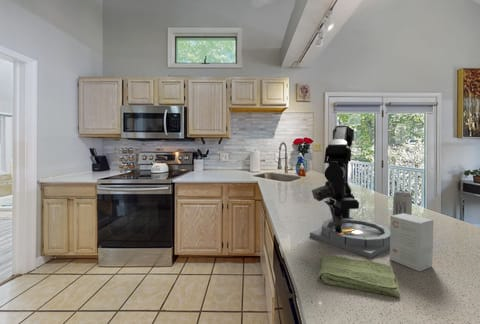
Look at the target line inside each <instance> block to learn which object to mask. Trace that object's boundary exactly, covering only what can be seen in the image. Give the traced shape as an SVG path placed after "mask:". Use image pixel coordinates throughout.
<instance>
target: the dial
mask: <svg viewBox="0 0 480 324" xmlns="http://www.w3.org/2000/svg"><path fill="white" fill-rule="evenodd" d="M330 229H332V230H333V231H335V232H339V233H344V234H345V235H350V236H358V237H378V236H380V235H382V233H381V232H380V231H379V230H377V229H375V228H373V227H370V226H366V225H361V224H354V223H342V216H341V215H335V224H334V225H332V226H331V227H330Z"/></svg>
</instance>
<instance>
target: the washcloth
mask: <svg viewBox="0 0 480 324" xmlns="http://www.w3.org/2000/svg"><path fill="white" fill-rule="evenodd" d="M317 278H318V279H317V280H318V281H320V283H322V284H324V285H325V284H326V285H330V286H334V287H338V288H346V289H351V290H357V291H362V292H363V291H364V292H367V293H368V292H369V293H375V294H380V293H382V295H386V296H389V295H390V296H389V297H401V292H400V289H399V283H398V282H399V281H398V279H397V277H396V275H395V274H394V270H393V266H390V265H388V264H385V263H381V262H377V261H375V260H364V259H359V258H358V259H357V258H349V257H345V256H342V255H341V256H339V255H333V254H329V255H327V254H326V255H323V256H321V259H320V269H319V271H318V274H317Z"/></svg>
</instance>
